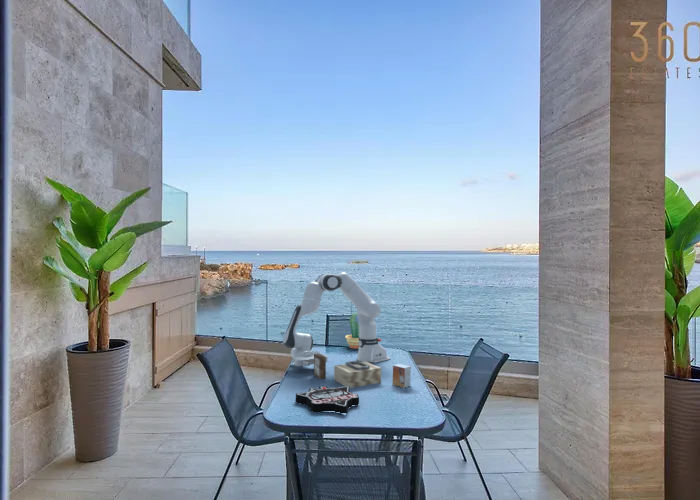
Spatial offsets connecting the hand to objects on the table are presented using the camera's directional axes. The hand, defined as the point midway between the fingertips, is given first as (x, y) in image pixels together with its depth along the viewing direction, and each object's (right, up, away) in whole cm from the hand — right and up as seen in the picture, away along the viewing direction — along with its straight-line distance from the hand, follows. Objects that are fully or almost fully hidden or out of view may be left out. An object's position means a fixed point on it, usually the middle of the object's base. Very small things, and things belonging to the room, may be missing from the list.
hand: (316, 363), depth 249 cm
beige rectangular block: (+23, -7, -12) cm, 27 cm away
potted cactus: (+23, -7, +72) cm, 77 cm away
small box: (+47, -7, -18) cm, 51 cm away
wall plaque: (+11, -7, -48) cm, 49 cm away
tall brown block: (+2, -6, -4) cm, 8 cm away
